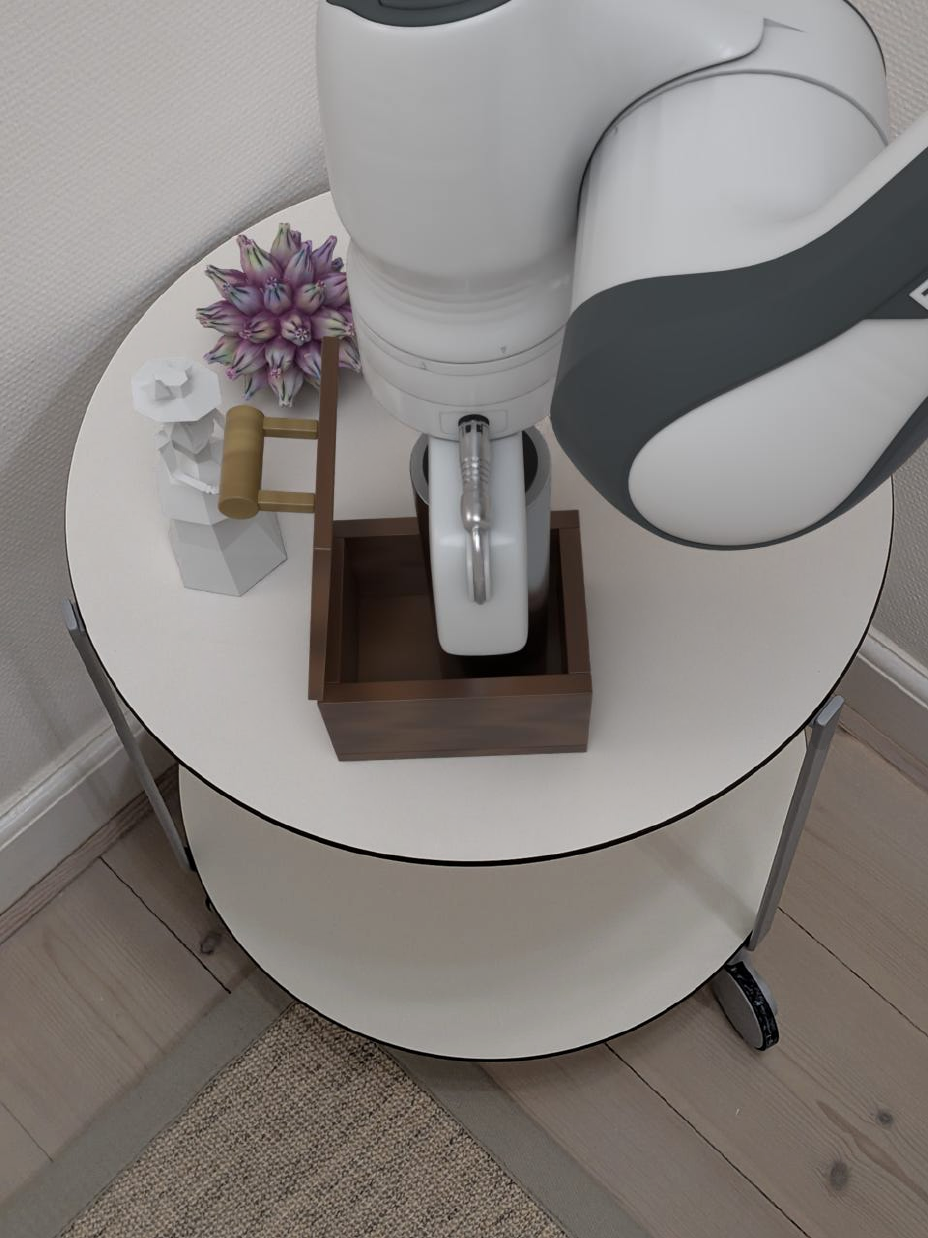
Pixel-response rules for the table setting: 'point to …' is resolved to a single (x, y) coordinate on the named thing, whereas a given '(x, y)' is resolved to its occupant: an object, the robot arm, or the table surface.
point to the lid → (247, 498)
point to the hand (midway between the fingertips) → (481, 518)
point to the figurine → (200, 481)
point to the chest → (409, 666)
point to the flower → (280, 314)
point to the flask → (538, 553)
